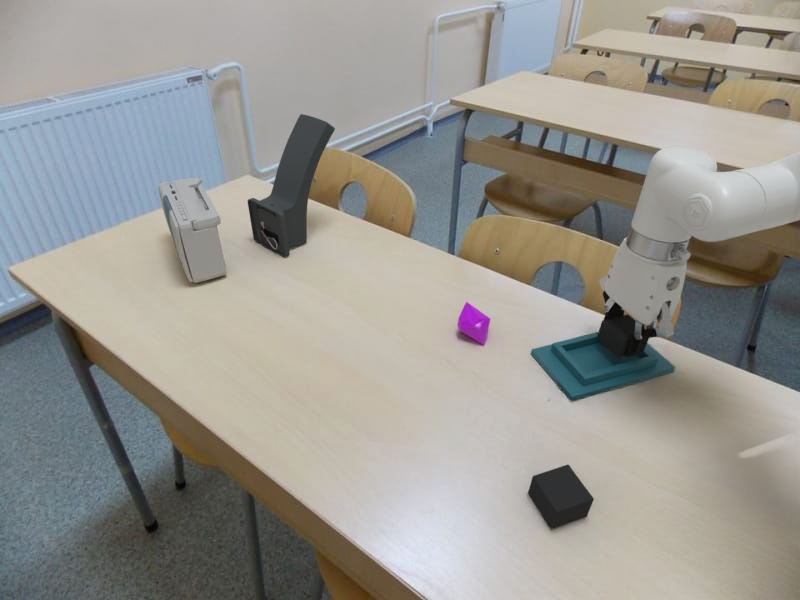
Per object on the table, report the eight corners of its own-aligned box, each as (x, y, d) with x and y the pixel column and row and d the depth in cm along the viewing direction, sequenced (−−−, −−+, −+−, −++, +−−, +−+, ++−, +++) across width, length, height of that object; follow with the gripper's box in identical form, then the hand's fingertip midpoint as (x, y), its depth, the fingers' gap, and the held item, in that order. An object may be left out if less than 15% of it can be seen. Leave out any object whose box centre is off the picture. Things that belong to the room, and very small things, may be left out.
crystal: (453, 338, 86) (456, 316, 84) (464, 320, 90) (466, 299, 88) (483, 347, 85) (486, 325, 82) (493, 328, 89) (496, 307, 86)
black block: (643, 350, 80) (650, 333, 78) (617, 357, 79) (623, 340, 77) (622, 331, 84) (628, 314, 82) (596, 337, 82) (602, 320, 80)
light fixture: (345, 229, 116) (340, 120, 102) (284, 259, 106) (269, 141, 92) (313, 215, 122) (304, 109, 108) (252, 241, 111) (233, 128, 97)
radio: (170, 239, 111) (146, 148, 100) (210, 231, 115) (190, 142, 103) (189, 289, 97) (162, 188, 85) (233, 278, 100) (213, 180, 88)
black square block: (587, 516, 61) (594, 499, 59) (550, 529, 59) (556, 512, 57) (562, 481, 64) (568, 463, 62) (527, 493, 63) (532, 475, 61)
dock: (673, 371, 81) (678, 360, 79) (570, 401, 75) (574, 389, 74) (625, 329, 89) (629, 318, 88) (530, 353, 84) (533, 341, 82)
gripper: (728, 268, 65) (679, 373, 76) (635, 210, 78) (605, 307, 89) (682, 279, 63) (638, 385, 74) (594, 217, 76) (568, 316, 86)
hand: (620, 341), depth 81 cm, fingers closed on black block, 4 cm apart
